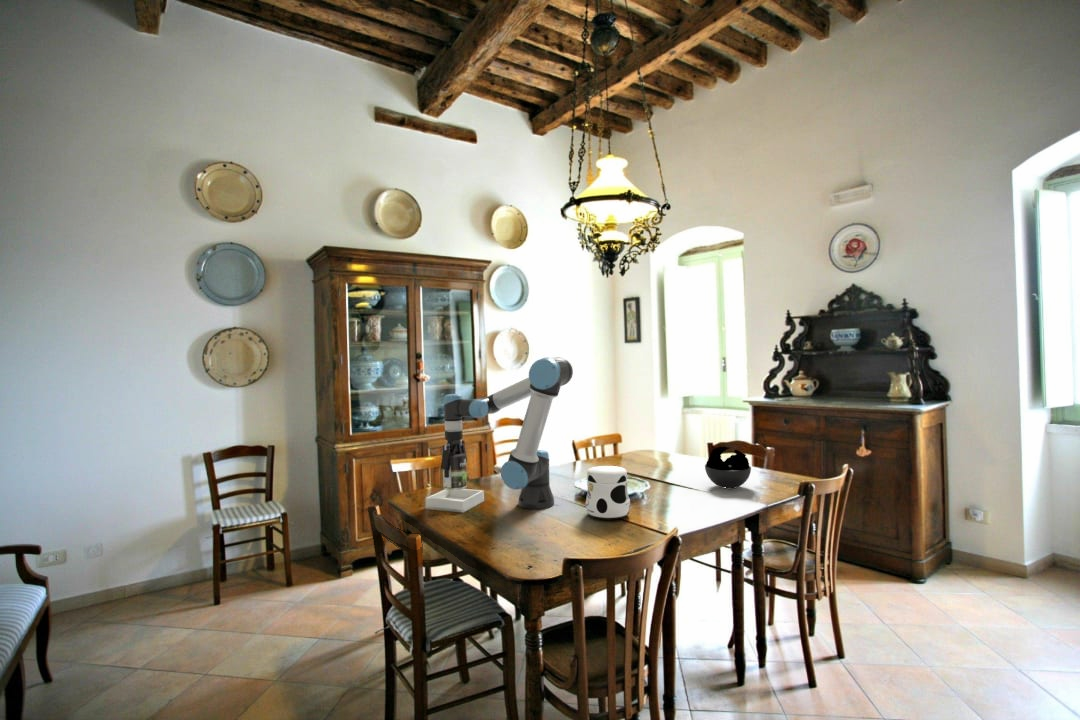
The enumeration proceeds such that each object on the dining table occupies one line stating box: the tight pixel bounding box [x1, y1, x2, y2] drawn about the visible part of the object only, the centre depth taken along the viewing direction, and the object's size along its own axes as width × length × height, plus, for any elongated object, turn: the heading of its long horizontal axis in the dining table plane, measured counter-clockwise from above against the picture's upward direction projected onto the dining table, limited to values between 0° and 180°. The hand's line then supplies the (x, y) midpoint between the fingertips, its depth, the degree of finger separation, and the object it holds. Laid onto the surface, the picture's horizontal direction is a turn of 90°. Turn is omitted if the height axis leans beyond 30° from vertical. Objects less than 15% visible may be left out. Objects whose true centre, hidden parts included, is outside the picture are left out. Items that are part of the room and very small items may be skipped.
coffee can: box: [442, 453, 468, 490], centre depth 231 cm, size 10×10×14 cm
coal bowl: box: [704, 446, 752, 489], centre depth 247 cm, size 20×20×19 cm
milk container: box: [585, 465, 631, 520], centre depth 210 cm, size 17×17×18 cm
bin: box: [425, 488, 485, 514], centre depth 231 cm, size 18×18×4 cm
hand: (454, 481), depth 231 cm, fingers closed on coffee can, 10 cm apart
